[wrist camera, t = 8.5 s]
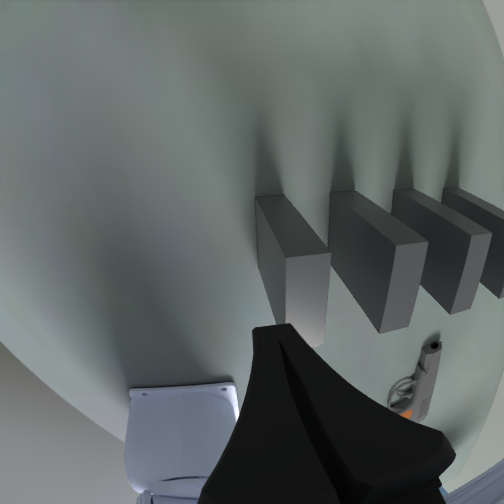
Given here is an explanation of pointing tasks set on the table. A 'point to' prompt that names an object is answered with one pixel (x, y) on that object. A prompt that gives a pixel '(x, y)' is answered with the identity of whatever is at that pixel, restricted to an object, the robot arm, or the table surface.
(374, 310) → the domino
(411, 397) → the handgun
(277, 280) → the domino
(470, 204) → the domino end
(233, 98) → the table surface
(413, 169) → the table surface
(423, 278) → the domino
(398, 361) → the table surface
